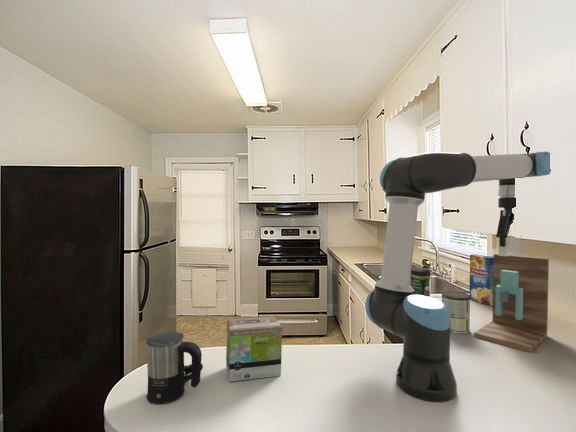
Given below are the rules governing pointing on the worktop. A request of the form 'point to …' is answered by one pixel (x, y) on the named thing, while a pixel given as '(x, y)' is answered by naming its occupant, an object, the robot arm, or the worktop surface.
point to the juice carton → (481, 278)
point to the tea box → (253, 348)
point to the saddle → (511, 285)
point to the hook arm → (506, 296)
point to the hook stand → (535, 304)
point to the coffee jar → (420, 281)
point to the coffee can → (458, 310)
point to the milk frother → (170, 366)
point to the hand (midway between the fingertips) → (509, 254)
